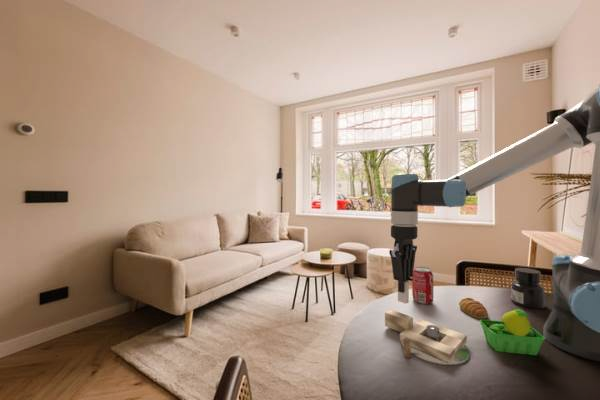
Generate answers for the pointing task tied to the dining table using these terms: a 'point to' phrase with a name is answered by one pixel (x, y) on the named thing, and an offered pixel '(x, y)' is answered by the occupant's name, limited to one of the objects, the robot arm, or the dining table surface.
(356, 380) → the dining table surface
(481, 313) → the pastry
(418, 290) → the soda can
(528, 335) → the fruit basket
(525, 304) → the ink bottle
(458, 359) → the pot lid
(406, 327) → the wooden block frame
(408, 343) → the dowel
